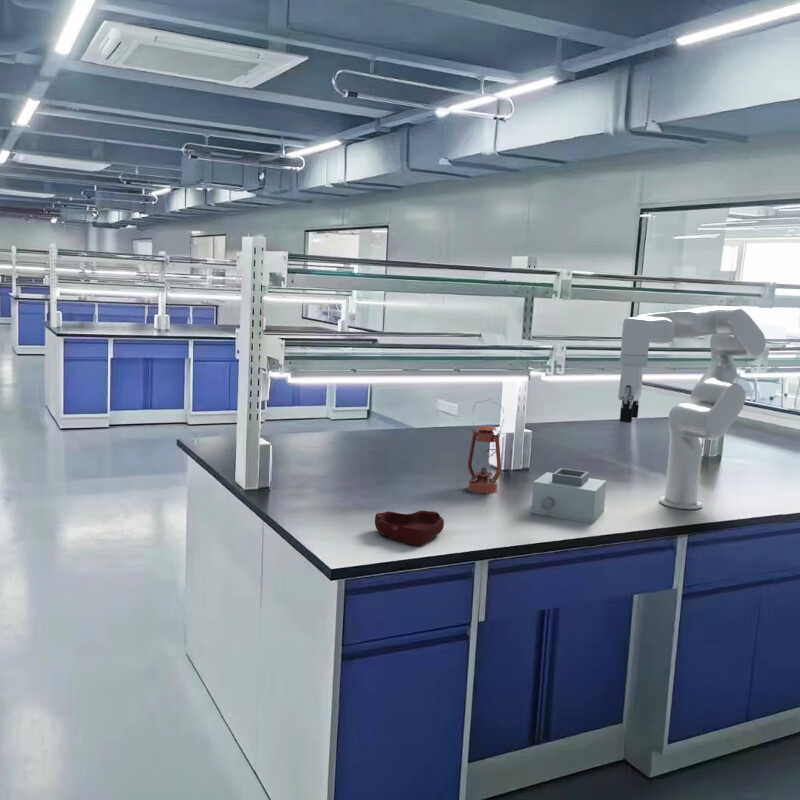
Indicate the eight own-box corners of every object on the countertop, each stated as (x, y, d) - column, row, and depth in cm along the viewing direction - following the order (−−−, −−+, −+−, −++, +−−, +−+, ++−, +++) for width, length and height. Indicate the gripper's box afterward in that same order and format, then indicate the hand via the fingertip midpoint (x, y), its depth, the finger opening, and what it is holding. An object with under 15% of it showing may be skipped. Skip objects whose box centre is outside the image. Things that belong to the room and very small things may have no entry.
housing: (544, 501, 240) (547, 464, 238) (603, 511, 232) (607, 472, 230) (528, 515, 225) (530, 475, 223) (590, 526, 217) (594, 484, 215)
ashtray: (383, 550, 192) (384, 530, 191) (371, 529, 207) (372, 511, 207) (453, 547, 196) (454, 528, 195) (436, 527, 211) (437, 509, 211)
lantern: (495, 486, 256) (500, 396, 251) (500, 495, 246) (506, 401, 241) (466, 485, 256) (470, 395, 251) (469, 494, 245) (474, 400, 241)
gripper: (626, 357, 232) (621, 414, 235) (614, 362, 217) (609, 422, 219) (652, 359, 229) (647, 417, 232) (642, 364, 214) (636, 425, 216)
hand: (628, 419), depth 226 cm, fingers open, 9 cm apart
